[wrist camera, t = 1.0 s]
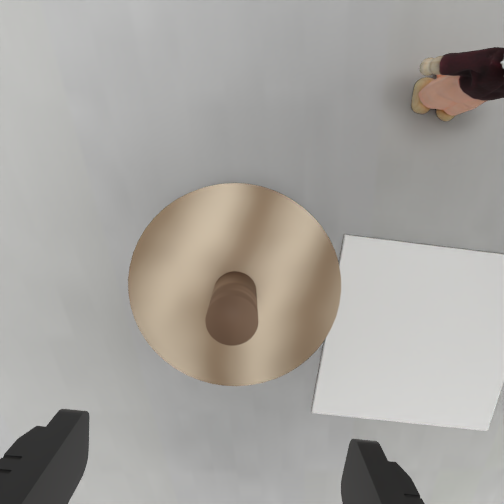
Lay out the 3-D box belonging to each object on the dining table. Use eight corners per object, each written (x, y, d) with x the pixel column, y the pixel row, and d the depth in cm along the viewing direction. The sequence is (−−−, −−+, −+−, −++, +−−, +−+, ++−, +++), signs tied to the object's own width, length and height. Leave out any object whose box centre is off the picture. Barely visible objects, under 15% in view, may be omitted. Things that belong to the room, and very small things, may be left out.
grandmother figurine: (483, 78, 28) (667, 4, 16) (471, 127, 29) (637, 95, 17) (389, 66, 28) (503, -19, 15) (380, 116, 29) (481, 75, 16)
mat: (539, 258, 32) (543, 259, 31) (485, 428, 36) (487, 431, 35) (344, 234, 31) (345, 235, 30) (311, 410, 35) (311, 413, 34)
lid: (355, 197, 24) (389, 205, 18) (319, 387, 27) (338, 446, 22) (138, 169, 24) (101, 169, 18) (128, 367, 27) (94, 422, 21)
